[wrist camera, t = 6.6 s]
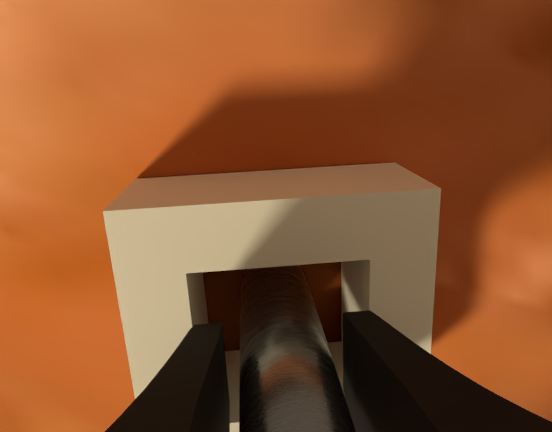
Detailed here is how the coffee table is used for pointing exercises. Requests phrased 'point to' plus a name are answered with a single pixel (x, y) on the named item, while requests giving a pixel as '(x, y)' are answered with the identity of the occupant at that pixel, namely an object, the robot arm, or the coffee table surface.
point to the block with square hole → (270, 249)
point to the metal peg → (286, 358)
